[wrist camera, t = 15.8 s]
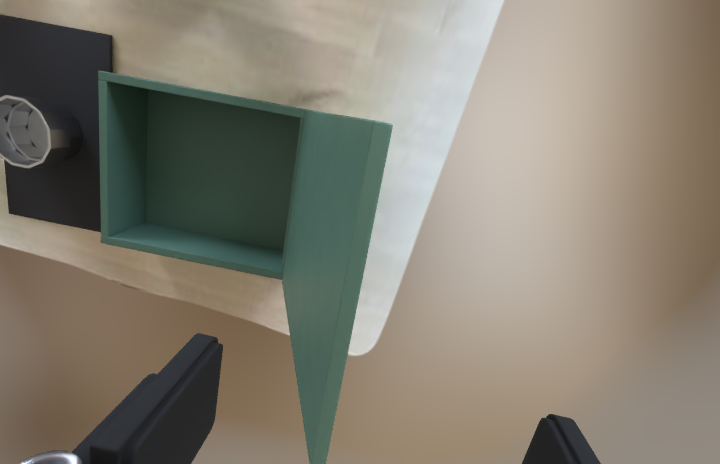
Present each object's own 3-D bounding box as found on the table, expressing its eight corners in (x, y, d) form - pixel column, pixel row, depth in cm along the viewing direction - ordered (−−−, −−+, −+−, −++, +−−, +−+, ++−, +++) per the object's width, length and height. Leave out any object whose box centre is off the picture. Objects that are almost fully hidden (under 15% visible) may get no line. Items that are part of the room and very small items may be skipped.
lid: (309, 467, 18) (325, 465, 19) (373, 120, 14) (393, 124, 14) (282, 282, 37) (290, 283, 37) (304, 109, 32) (314, 110, 33)
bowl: (23, 93, 41) (-19, 90, 37) (84, 105, 41) (48, 103, 37) (27, 157, 43) (-12, 160, 39) (85, 168, 43) (52, 173, 39)
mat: (-6, 14, 40) (-10, 13, 39) (112, 35, 39) (109, 34, 39) (11, 212, 46) (8, 213, 45) (113, 233, 45) (111, 234, 45)
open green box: (143, 226, 45) (100, 243, 38) (145, 79, 40) (97, 70, 34) (303, 258, 44) (287, 281, 38) (324, 113, 39) (310, 110, 33)
